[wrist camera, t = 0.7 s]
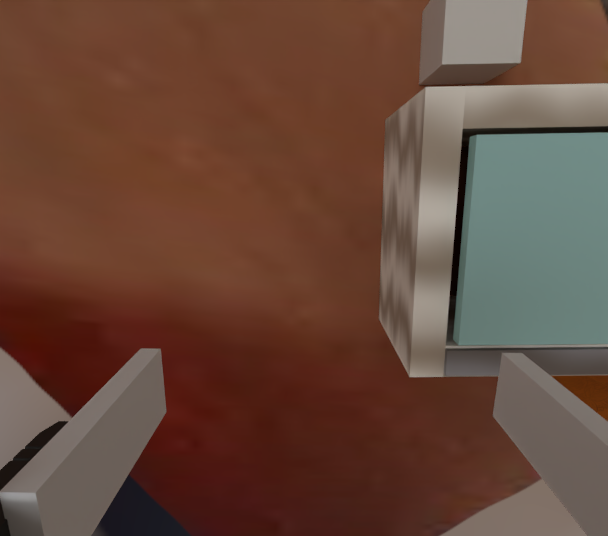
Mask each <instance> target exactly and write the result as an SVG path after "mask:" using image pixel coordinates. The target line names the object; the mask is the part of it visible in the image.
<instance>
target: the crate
mask: <svg viewBox="0 0 608 536" xmlns="http://www.w3.org/2000/svg"><path fill="white" fill-rule="evenodd" d="M605 132H608V83H604V84H551V85H499V86H447V87H425V88H424V89H423V90H421V91H420V92H419V93H418V94H416V95H415V96H414V97H413V98H412V99H410V100H409V101H408V102H407V103H405V104H404V105H403V106H402V107H401V108H399V109H398V110H397V111H396V112H394V113H393V114H392V115H391V116H390V117H388V118H387V119H386V120H385V148H384V179H383V209H382V239H381V270H380V300H379V320H380V322H381V324H382V326H383V328H384V330H385V332H386V333H387V335H388V337H389V339H390V341H391V343H392V345H393V347H394V349H395V350H396V352H397V354H398V356H399V358H400V360H401V362H402V364H403V366H404V367H405V369H406V371H407V373H408V375H409V377H480V376H499V370H500V363H501V357H502V353H523V354H524V355H525V356H526V357H528V358H529V359H530V360H531V361H533V362H534V363H535V364H536V365H538V366H539V367H540V368H541V369H543V370H544V371H545V372H546V373H548V374H549V375H550V376H586V375H608V344H549V345H458V344H457V343H456V342H455V341H454V340H453V334H454V321H455V309H456V297H457V296H450V284H451V271H452V258H453V245H454V233H455V220H456V207H457V194H458V182H459V169H460V156H461V146H469V141H470V137H471V136H474V135H490V134H547V133H605Z"/></svg>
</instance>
